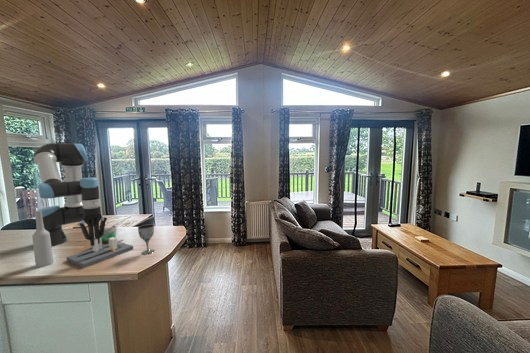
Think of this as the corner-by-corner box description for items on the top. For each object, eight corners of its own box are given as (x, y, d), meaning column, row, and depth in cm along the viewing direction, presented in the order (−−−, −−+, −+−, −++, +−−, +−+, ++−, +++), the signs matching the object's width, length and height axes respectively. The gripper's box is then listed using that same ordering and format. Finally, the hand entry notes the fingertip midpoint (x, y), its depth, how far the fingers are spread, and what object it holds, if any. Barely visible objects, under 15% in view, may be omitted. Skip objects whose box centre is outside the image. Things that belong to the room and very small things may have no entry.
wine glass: (143, 249, 135) (141, 224, 133) (157, 248, 135) (156, 223, 134) (137, 255, 127) (135, 229, 125) (152, 254, 127) (150, 228, 126)
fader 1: (94, 249, 131) (93, 238, 131) (99, 247, 133) (98, 237, 133) (97, 250, 129) (96, 239, 129) (102, 248, 132) (101, 238, 131)
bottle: (43, 267, 116) (36, 212, 113) (32, 267, 117) (25, 212, 114) (56, 261, 122) (50, 209, 119) (46, 261, 123) (40, 209, 120)
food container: (106, 248, 139) (104, 231, 138) (97, 247, 140) (96, 231, 139) (122, 240, 151) (121, 225, 150) (114, 240, 152) (113, 225, 151)
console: (66, 260, 123) (65, 253, 122) (115, 244, 144) (115, 237, 144) (84, 268, 114) (83, 259, 114) (133, 249, 136) (132, 242, 135)
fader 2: (109, 248, 131) (108, 238, 130) (113, 247, 133) (113, 237, 132) (113, 250, 129) (112, 239, 128) (117, 248, 131) (116, 238, 130)
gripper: (80, 210, 113) (85, 257, 116) (108, 205, 125) (112, 247, 127) (73, 209, 117) (77, 254, 119) (101, 204, 128) (105, 245, 131)
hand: (95, 250), depth 123 cm, fingers closed
